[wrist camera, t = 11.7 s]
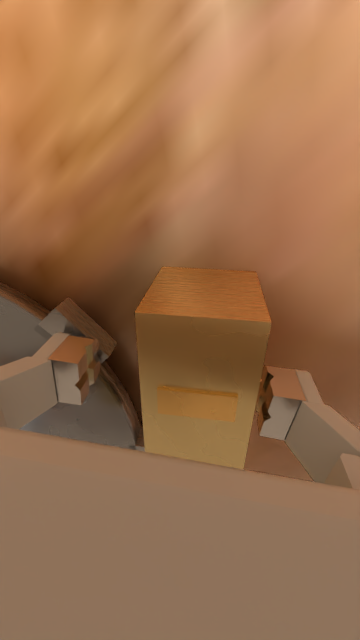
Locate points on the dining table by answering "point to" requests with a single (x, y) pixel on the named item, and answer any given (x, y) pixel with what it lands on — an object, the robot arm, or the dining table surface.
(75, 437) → the sprocket
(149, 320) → the tall wooden block
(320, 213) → the dining table surface
